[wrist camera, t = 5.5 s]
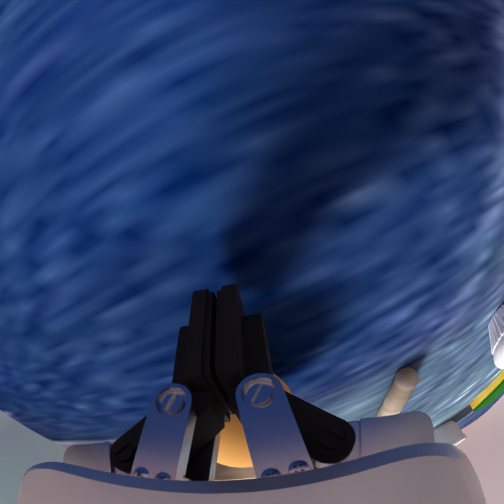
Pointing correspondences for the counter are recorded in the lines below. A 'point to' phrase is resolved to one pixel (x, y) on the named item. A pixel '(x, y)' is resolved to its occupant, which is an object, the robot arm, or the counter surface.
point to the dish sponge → (489, 393)
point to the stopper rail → (233, 473)
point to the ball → (236, 442)
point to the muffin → (497, 337)
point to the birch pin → (399, 392)
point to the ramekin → (449, 433)
